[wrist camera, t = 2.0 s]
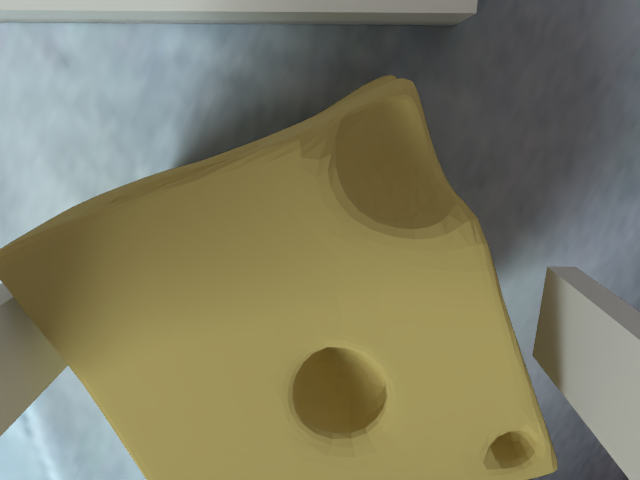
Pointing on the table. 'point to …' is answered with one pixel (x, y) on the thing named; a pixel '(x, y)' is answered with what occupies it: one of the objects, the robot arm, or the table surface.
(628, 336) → the robot arm
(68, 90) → the table surface
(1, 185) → the table surface
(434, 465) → the cheese
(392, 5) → the serving tray
